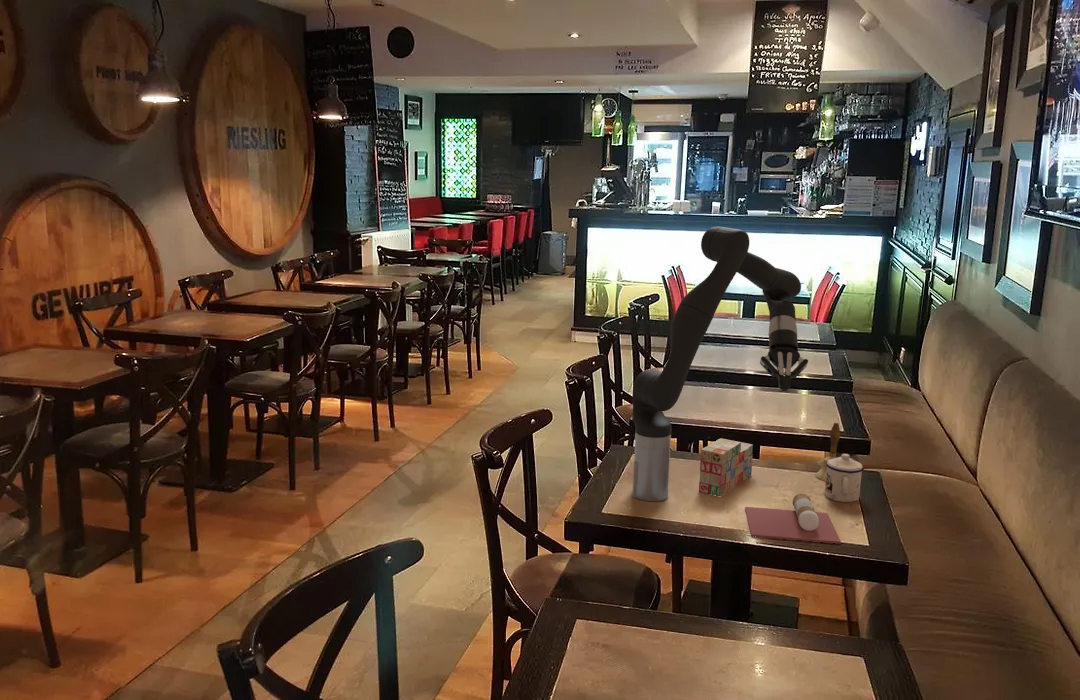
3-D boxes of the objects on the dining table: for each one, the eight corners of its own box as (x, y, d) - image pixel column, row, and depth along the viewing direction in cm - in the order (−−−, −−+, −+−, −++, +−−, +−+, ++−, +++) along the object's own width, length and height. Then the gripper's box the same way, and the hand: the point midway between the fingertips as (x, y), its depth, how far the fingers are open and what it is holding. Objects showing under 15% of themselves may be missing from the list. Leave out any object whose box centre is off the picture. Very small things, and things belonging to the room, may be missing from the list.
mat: (751, 536, 188) (751, 534, 188) (745, 508, 204) (745, 506, 204) (840, 544, 185) (840, 541, 185) (827, 515, 201) (827, 512, 201)
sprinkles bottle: (807, 512, 203) (816, 533, 190) (789, 507, 203) (796, 528, 190) (813, 495, 202) (821, 516, 189) (794, 490, 202) (802, 511, 189)
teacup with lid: (822, 488, 219) (826, 447, 217) (858, 492, 217) (862, 451, 214) (825, 504, 208) (829, 461, 206) (862, 509, 205) (867, 465, 203)
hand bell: (820, 470, 234) (825, 417, 230) (849, 476, 229) (855, 422, 226) (811, 478, 227) (816, 424, 224) (841, 485, 222) (846, 429, 219)
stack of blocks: (730, 470, 232) (733, 430, 230) (751, 475, 229) (754, 434, 226) (698, 492, 215) (700, 448, 213) (720, 498, 212) (722, 453, 209)
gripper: (760, 326, 220) (760, 380, 211) (810, 329, 218) (813, 384, 209) (756, 341, 226) (757, 395, 217) (805, 344, 224) (808, 398, 215)
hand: (784, 389), depth 213 cm, fingers closed
